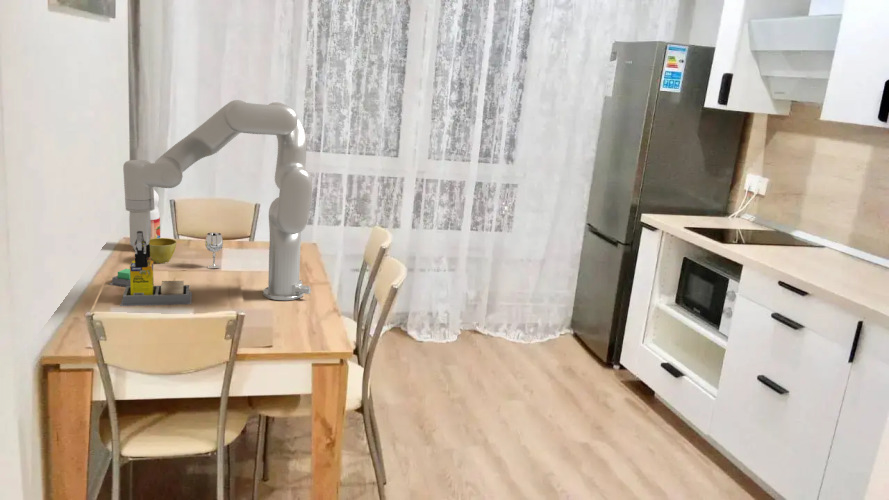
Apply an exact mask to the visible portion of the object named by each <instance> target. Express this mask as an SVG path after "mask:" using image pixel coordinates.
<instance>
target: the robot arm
mask: <svg viewBox="0 0 889 500" xmlns="http://www.w3.org/2000/svg"><path fill="white" fill-rule="evenodd" d="M241 133H243V134H251V135H269V136H276V138H277V157H276V165H275V172H274V182H275V185H276V187H277V188H278V189H279V195H278V197H276V198H274V199H273V201H272V202H271V203H270V206H269V209H268V224H269V225H268V226H269V247H268V248H269V249H268V250H269V251H268V252H269V253H268V282H267V284H268V285H267V287H264V288H263V292H262V294H263V296H264V298H268V299H271V300H275V301H293V300H294V301H295V300H298V299H300V298H302V297H303V296H304V295H305V294H306V295H310V294H311V291H312V289H311V286H310V285H304V284H303V280H300V271H301V270H300V268H301V267H300V266H301V248H302V247H301V246H302V245H301V242H302V237H301V232H302V231H304V230H305V228H306V227H307V225H308V222H309V220H310V219H309V218H310V211H311V203H312V196H313V195H312V194H313V179H312V177H311V175H310V173H309V172H308V171H307V170H306V163H307V162H306V161H307V148H308V147H307V146H308V145H307V144H308V141H307V135H306V131H305V128H304V126H303V123H302V122H301V120H300V119H299V117H298V115H297V112H296V111H295V110H294V109H293V108H291V107H290V106H288V105H287V104H284V103H281V102H277V101H276V102H275V101H274V102H270V103H269V104H262V103H261V104H260V103H251V102H246V101H243V100H240V99H234V100H231V101H229V102H227V104H225V105H224V106H223V107H221V108H220V109H219V110H218V111H216V112H215V113H214V114H213V115H211V116H210V117H209V118H208V119H206V121H204V122H203V123H202V124H201V125H199V126H198V127H197V128H195V129H194V130H193V131H191V132H190V133H189V134H187V136H185V137H184V138H183V139H181V140H179V141H178V142H177V143H176V144H174V145H173V146H172V147H170V148H169V149H167V150H166V151H165V152H164V153H163V154H161V156H160V157H158V158H157V159H156V160H155V162H152V163H151V162H150V161H148V160H143V159H131V160H127V161H125V162H124V163H123V165H122V166H123V168H122V169H123V184H124V185H123V187H124V189H123V190H124V202H125V203H124V205H125V211H128V212H129V215H128V216H129V245H130V246H131V247H133V245H134V244H135V250H134V261H135V267H136V268H139V267H148V261H149V259H148V258H151V257H150V244H149V241H150V235H151V218H150V211H152V210H154V209H155V208H154V190H155V188H161V189H162V188H163V189H173V188H176V187H177V186H179V185H180V184H181V182H182V181H183V177H184V176H183V173H184V172H185V171H186V170H188V169H189V168H190V167H192V166H193V164H195V163H197V162H198V161H200V160H202V159H204V158H206V157H207V158H208V157H209V156H212V155H215V154H217V153H219V151H221V150H222V149H223V148H224V147H225V146H226V145H228V144H229V143H230V142H232V140H234V139H235V138H236V137H238V135H240V134H241Z"/></svg>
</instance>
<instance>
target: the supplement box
mask: <svg viewBox="0 0 889 500" xmlns="http://www.w3.org/2000/svg"><path fill="white" fill-rule="evenodd" d="M129 269H130V287H131V295H154V286H155V285H154V284H155V283H154V262H153V260H148V267H139V268H136V267H135V260H131V264H130V265H129Z"/></svg>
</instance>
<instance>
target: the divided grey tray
mask: <svg viewBox="0 0 889 500" xmlns="http://www.w3.org/2000/svg"><path fill="white" fill-rule="evenodd" d="M192 296H193V292H192V291H190V285H189V284H184V294H174V295H161V285H154V295H131V287H130V286H126V287H124V291H123V294H122V299H121V301H120V304H119V307H137V306H139V307H141V306H174V305H175V306H176V305H182V306H183V305H192V300H193V298H192Z"/></svg>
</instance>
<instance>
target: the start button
mask: <svg viewBox="0 0 889 500" xmlns="http://www.w3.org/2000/svg"><path fill="white" fill-rule="evenodd" d="M117 276H118V278H124V279H130V268H124V269H121V270H119V271H117Z"/></svg>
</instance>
